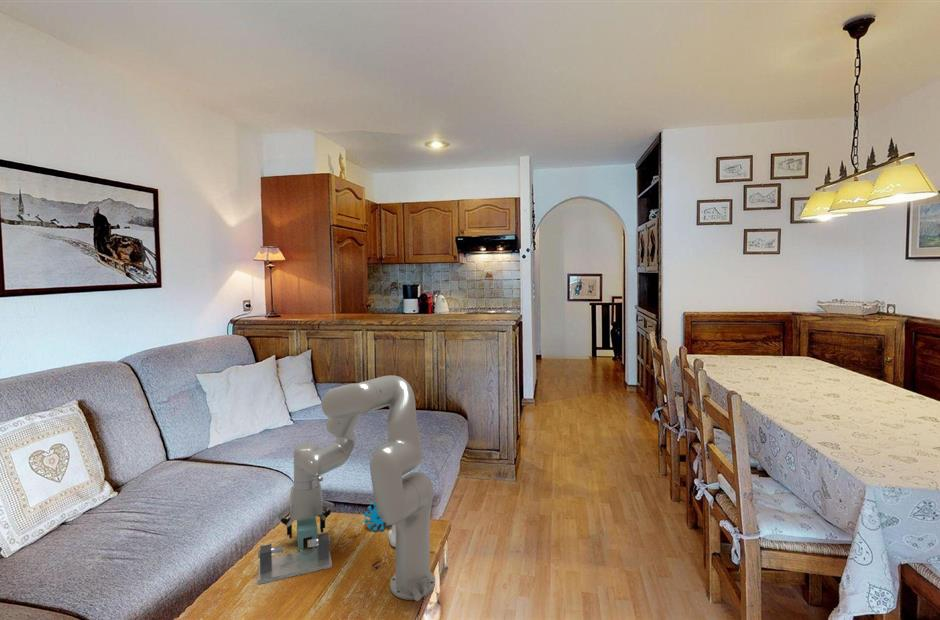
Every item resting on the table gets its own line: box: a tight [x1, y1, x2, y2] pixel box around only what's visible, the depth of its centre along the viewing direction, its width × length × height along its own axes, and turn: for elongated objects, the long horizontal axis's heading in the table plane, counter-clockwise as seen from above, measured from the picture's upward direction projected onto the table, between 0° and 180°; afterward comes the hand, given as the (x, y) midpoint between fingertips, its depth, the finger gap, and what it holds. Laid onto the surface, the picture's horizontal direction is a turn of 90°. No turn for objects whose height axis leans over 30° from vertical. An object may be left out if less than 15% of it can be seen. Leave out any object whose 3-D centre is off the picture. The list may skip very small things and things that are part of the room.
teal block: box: [296, 516, 318, 552], centre depth 146 cm, size 6×9×6 cm, turn 24°
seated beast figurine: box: [387, 525, 396, 548], centre depth 146 cm, size 10×9×12 cm
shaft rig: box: [257, 531, 333, 585], centre depth 133 cm, size 10×20×7 cm, turn 114°
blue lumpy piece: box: [363, 501, 390, 532], centre depth 157 cm, size 11×6×10 cm
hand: (306, 533), depth 146 cm, fingers open, 9 cm apart
